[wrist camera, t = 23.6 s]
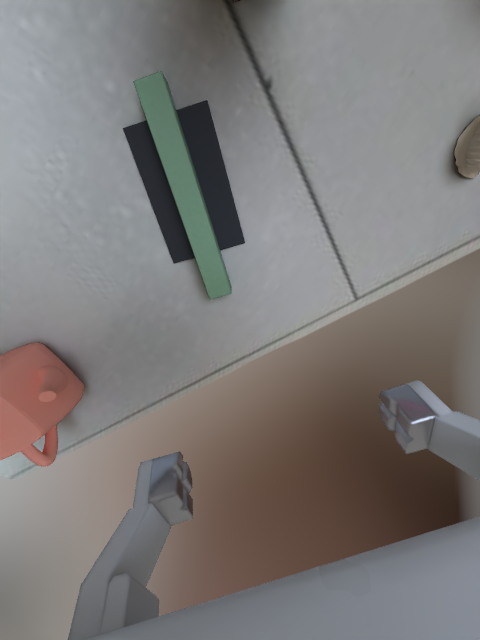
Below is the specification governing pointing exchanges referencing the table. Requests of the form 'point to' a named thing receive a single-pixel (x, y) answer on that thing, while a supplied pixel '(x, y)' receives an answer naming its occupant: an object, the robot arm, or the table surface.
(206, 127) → the mat
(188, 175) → the rod
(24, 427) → the teapot
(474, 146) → the decorative ornament
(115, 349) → the table surface
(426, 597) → the robot arm
